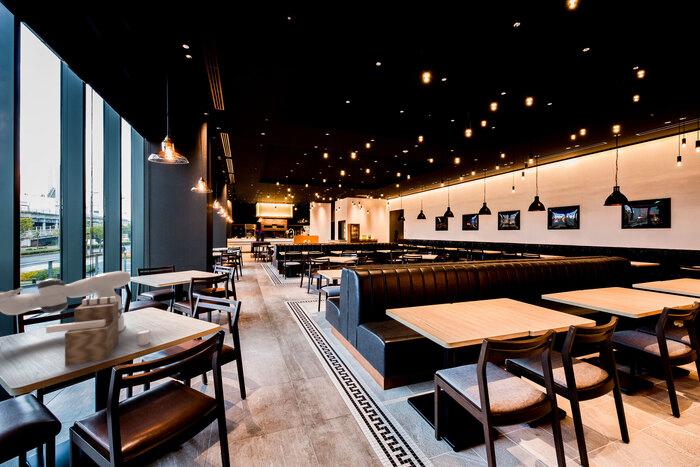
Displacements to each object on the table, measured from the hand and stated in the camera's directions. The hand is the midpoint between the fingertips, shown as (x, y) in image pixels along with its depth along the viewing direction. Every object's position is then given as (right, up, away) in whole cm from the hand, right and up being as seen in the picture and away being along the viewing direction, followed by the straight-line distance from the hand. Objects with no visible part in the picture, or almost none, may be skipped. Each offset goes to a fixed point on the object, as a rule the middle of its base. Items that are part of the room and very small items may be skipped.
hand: (16, 290), depth 141 cm
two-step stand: (+28, -36, +12) cm, 47 cm away
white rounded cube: (+45, -37, +26) cm, 63 cm away
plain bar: (+26, -21, +4) cm, 34 cm away
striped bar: (+24, -11, +20) cm, 33 cm away
